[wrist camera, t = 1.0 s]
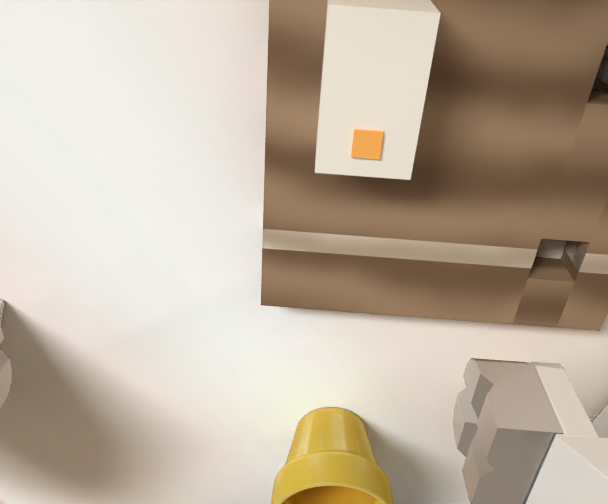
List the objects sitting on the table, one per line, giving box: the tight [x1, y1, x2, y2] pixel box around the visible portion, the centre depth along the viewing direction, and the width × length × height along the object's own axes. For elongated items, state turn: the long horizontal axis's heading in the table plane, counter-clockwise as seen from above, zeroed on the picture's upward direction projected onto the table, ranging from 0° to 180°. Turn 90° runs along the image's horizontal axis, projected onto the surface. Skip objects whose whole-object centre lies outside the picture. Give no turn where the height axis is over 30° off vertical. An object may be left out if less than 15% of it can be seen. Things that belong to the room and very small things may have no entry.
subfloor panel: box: [261, 0, 608, 331], centre depth 39 cm, size 24×26×3 cm
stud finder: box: [315, 0, 441, 180], centre depth 32 cm, size 9×6×5 cm, turn 176°
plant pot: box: [271, 407, 393, 504], centre depth 52 cm, size 10×10×10 cm
